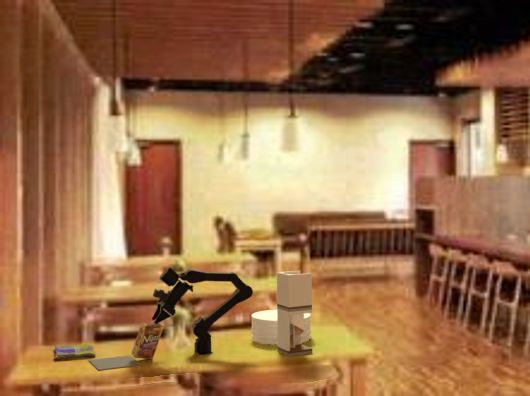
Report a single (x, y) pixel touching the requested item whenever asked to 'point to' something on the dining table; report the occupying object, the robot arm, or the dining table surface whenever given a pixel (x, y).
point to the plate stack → (273, 327)
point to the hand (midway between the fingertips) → (153, 321)
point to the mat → (114, 362)
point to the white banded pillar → (293, 310)
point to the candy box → (147, 340)
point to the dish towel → (74, 352)
